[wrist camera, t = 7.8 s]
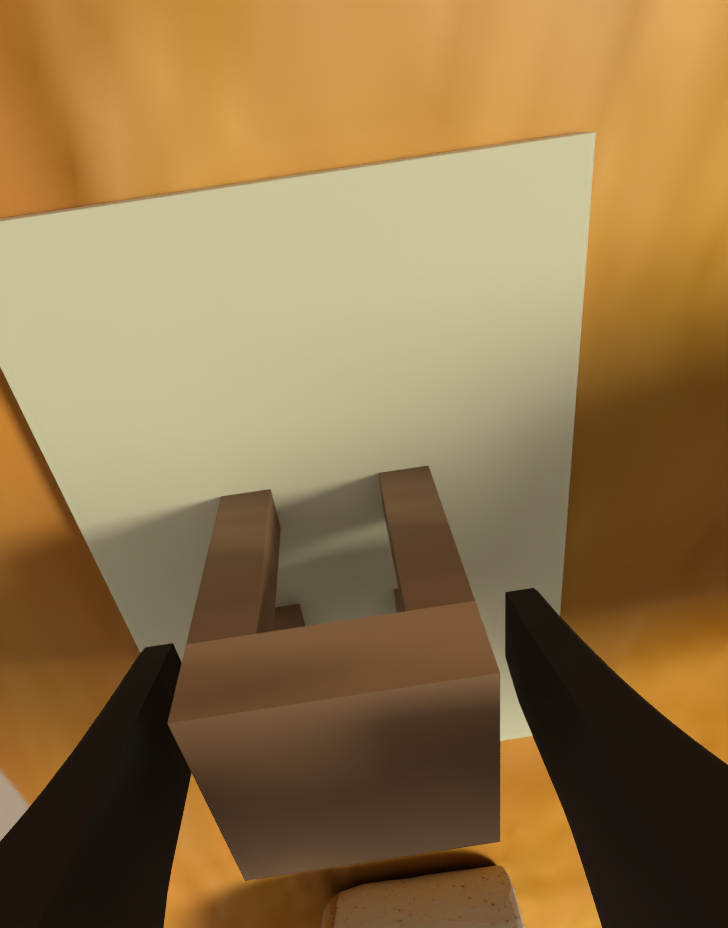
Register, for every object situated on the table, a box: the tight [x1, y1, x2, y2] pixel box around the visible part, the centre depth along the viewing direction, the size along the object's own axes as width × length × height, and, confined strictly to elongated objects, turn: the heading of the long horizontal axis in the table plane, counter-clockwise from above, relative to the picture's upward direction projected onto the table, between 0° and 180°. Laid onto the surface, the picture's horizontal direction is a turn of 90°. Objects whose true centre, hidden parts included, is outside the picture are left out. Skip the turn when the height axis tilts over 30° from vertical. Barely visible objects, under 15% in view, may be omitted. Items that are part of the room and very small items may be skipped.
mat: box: [0, 132, 596, 741], centre depth 15 cm, size 18×12×1 cm, turn 7°
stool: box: [167, 466, 500, 881], centre depth 12 cm, size 5×5×6 cm
